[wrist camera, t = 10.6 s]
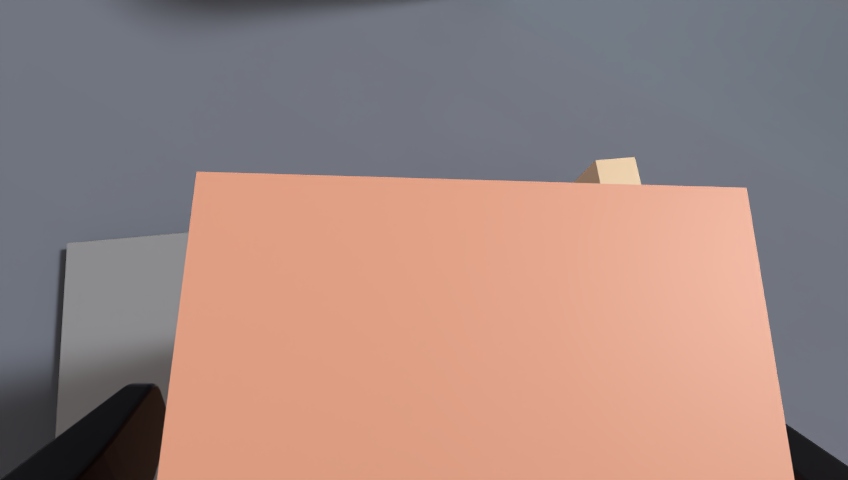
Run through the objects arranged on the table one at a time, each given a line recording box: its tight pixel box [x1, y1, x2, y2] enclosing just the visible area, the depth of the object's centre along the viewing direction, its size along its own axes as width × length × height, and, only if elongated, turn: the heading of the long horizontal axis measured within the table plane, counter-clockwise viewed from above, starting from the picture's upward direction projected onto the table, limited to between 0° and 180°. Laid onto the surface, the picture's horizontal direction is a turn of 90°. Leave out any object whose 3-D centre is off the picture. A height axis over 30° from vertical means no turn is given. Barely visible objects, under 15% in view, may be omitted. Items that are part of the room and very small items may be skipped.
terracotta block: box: [157, 172, 795, 480], centre depth 10 cm, size 5×5×12 cm
